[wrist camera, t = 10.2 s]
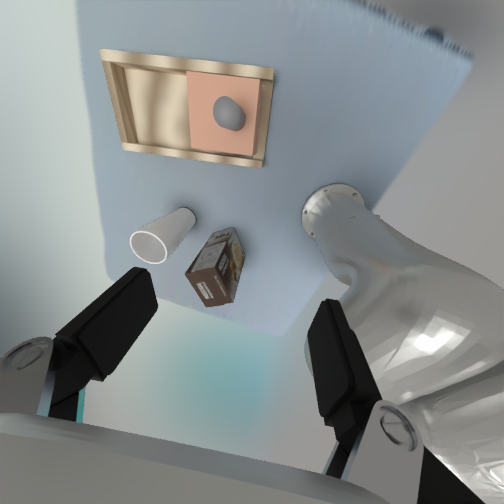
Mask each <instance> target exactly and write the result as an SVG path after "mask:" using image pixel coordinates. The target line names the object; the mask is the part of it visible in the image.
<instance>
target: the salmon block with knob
mask: <svg viewBox="0 0 504 504" xmlns="http://www.w3.org/2000/svg"><path fill="white" fill-rule="evenodd" d="M186 75H187V91H188V106H189V122H190V138H191V148H196V149H203V150H211V151H218V152H226V153H233V154H241V155H248V156H253V155H255V154H256V149H257V140H258V131H259V121H260V112H261V102H262V93H263V90H262V86H261V82H260V79H253V78H244V77H236V76H227V75H218V74H209V73H200V72H192V71H186Z"/></svg>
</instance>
